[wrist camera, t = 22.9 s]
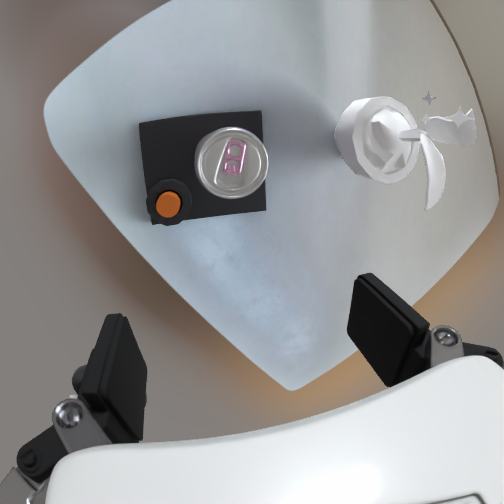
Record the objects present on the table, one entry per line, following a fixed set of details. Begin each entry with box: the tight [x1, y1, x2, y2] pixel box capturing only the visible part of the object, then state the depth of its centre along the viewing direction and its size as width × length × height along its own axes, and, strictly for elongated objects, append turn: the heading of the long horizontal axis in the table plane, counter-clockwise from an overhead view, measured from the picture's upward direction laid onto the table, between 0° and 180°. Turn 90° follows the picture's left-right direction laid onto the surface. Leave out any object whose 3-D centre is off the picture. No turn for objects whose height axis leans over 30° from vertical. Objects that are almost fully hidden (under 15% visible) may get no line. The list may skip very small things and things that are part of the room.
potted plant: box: [334, 91, 477, 210], centre depth 26 cm, size 13×12×25 cm
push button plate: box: [139, 110, 266, 226], centre depth 34 cm, size 16×14×3 cm
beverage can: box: [194, 127, 268, 199], centre depth 27 cm, size 6×6×15 cm
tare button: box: [156, 191, 181, 217], centre depth 33 cm, size 3×3×2 cm
